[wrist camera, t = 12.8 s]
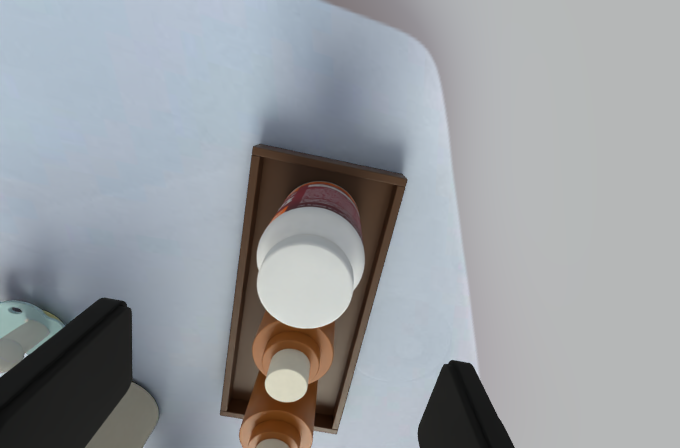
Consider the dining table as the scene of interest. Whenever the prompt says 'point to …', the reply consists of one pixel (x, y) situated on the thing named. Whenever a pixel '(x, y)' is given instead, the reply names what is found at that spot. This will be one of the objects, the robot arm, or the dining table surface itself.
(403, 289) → the dining table surface
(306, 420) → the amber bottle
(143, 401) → the travel mug
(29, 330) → the pacifier
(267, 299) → the pill bottle
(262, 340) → the amber bottle middle
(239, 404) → the tray
